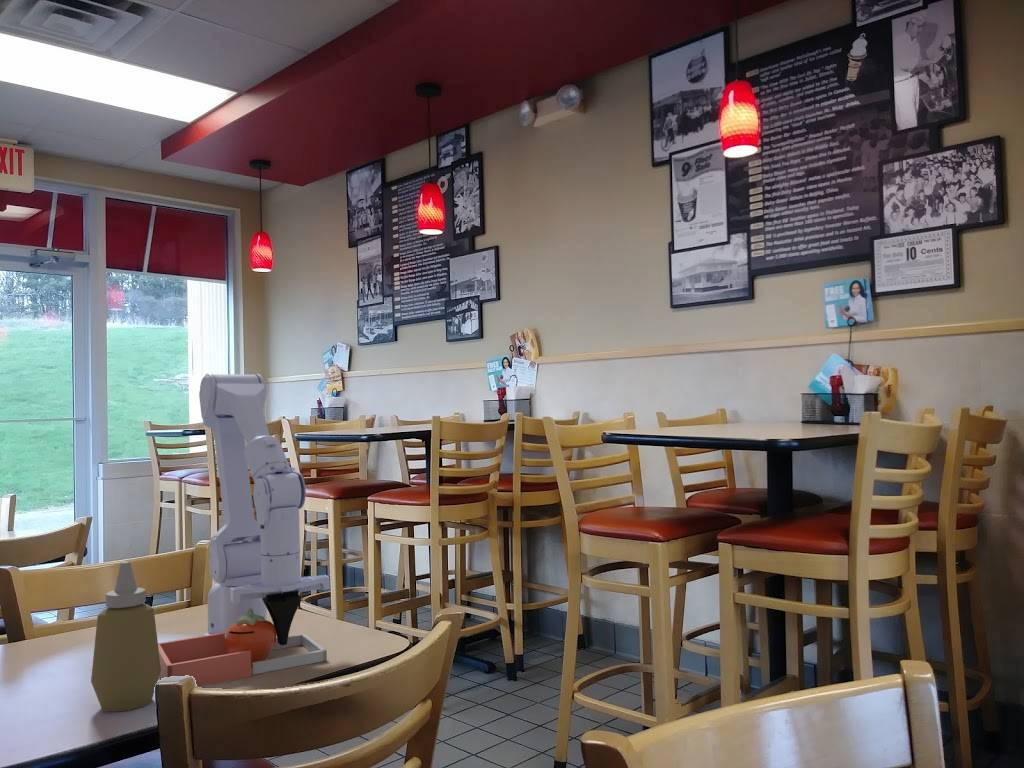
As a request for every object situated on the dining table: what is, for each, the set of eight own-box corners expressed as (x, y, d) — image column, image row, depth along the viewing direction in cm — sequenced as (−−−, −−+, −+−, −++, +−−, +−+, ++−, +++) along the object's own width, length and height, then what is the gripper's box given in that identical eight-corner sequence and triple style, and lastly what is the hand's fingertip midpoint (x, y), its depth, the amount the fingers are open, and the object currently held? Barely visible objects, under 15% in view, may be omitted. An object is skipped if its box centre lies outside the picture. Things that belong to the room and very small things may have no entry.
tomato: (214, 671, 114) (213, 615, 115) (239, 655, 122) (238, 602, 122) (263, 671, 113) (261, 615, 113) (285, 655, 121) (284, 602, 121)
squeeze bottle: (107, 695, 105) (106, 558, 106) (170, 691, 106) (168, 555, 107) (79, 718, 97) (78, 570, 98) (147, 714, 98) (146, 567, 99)
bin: (231, 654, 122) (231, 631, 122) (251, 676, 111) (250, 651, 111) (154, 667, 117) (154, 643, 117) (167, 692, 106) (167, 665, 106)
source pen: (304, 642, 127) (304, 633, 127) (326, 660, 118) (326, 650, 118) (235, 654, 122) (235, 645, 122) (253, 674, 112) (253, 663, 112)
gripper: (237, 562, 113) (238, 659, 113) (335, 550, 121) (337, 641, 120) (226, 555, 119) (227, 647, 119) (320, 544, 127) (322, 631, 126)
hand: (282, 643), depth 120 cm, fingers closed
